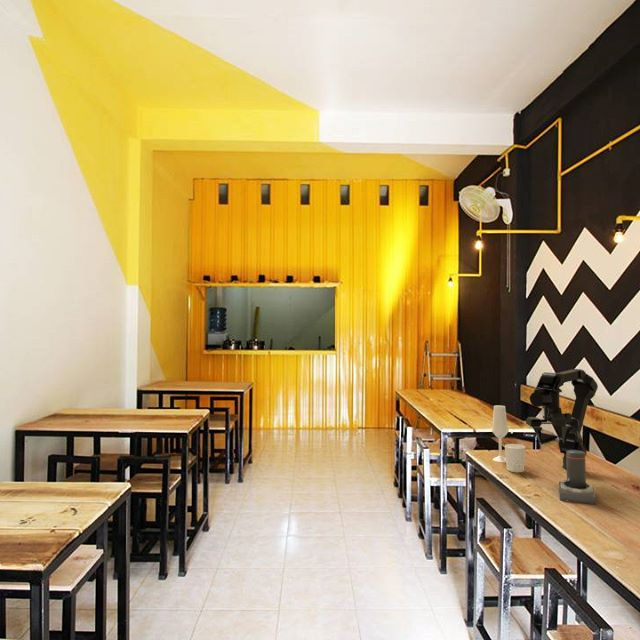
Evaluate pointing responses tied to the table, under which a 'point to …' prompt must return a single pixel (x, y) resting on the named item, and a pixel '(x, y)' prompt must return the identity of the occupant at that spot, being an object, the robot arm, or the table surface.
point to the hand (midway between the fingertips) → (552, 443)
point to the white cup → (515, 457)
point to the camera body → (577, 493)
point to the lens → (576, 469)
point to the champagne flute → (499, 428)
